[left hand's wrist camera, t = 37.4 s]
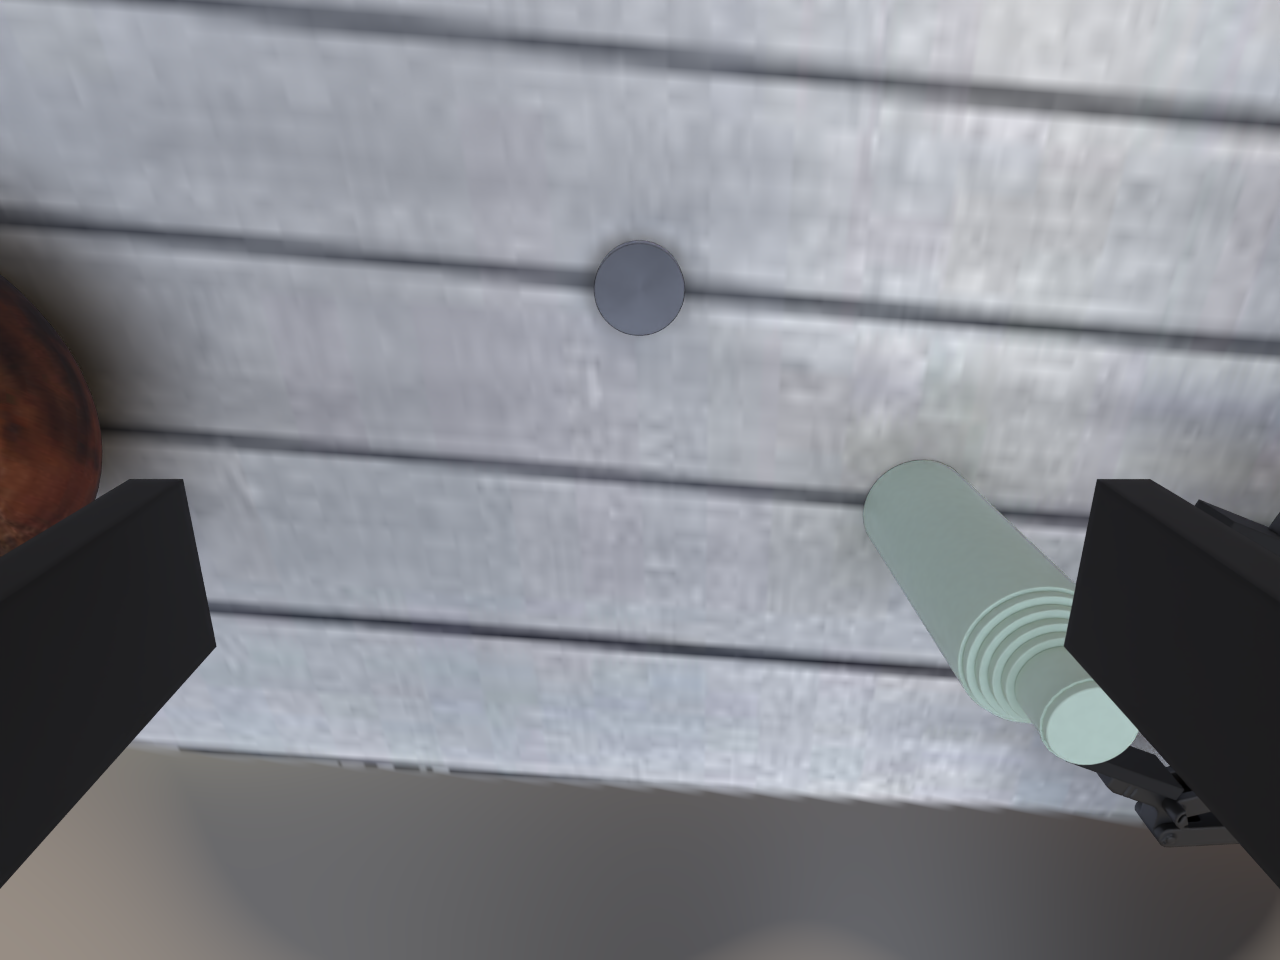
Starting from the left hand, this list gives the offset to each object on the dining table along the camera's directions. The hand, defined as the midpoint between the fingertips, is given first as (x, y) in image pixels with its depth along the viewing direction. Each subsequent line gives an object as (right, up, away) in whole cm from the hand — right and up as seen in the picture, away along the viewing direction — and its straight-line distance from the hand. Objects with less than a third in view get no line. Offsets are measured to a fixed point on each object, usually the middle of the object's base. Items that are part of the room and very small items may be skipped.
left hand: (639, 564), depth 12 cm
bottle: (+16, 0, +35) cm, 38 cm away
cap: (0, +11, +29) cm, 31 cm away
